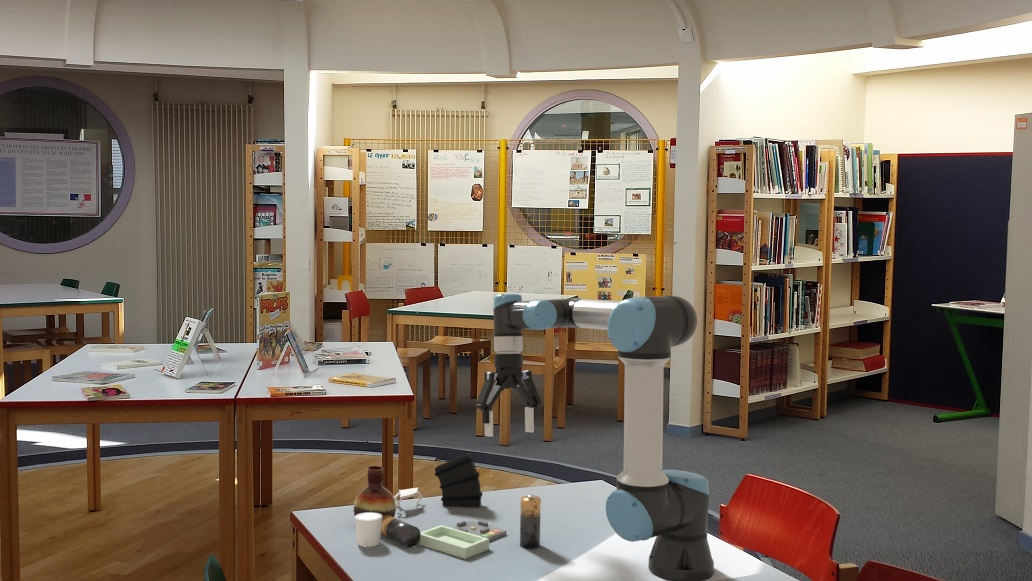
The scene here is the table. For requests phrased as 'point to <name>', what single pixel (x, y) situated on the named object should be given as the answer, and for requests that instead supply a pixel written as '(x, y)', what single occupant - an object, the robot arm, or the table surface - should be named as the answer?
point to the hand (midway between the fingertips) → (509, 434)
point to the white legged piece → (407, 496)
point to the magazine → (459, 482)
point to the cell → (530, 522)
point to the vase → (375, 495)
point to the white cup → (368, 528)
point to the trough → (453, 541)
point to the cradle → (480, 529)
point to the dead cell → (400, 531)
